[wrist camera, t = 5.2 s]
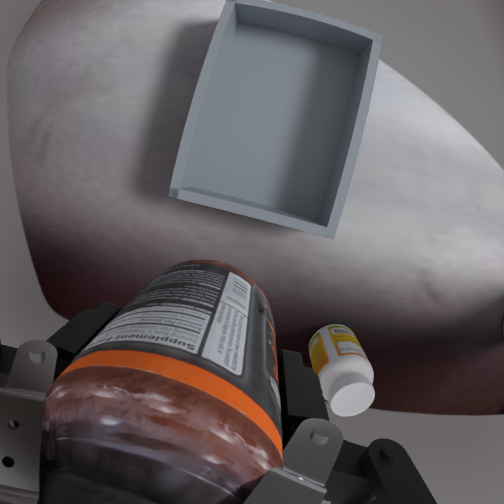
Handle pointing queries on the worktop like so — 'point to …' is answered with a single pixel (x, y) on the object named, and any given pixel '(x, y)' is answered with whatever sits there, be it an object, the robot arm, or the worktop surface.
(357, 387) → the supplement bottle
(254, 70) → the tote
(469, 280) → the worktop surface
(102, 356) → the supplement bottle
